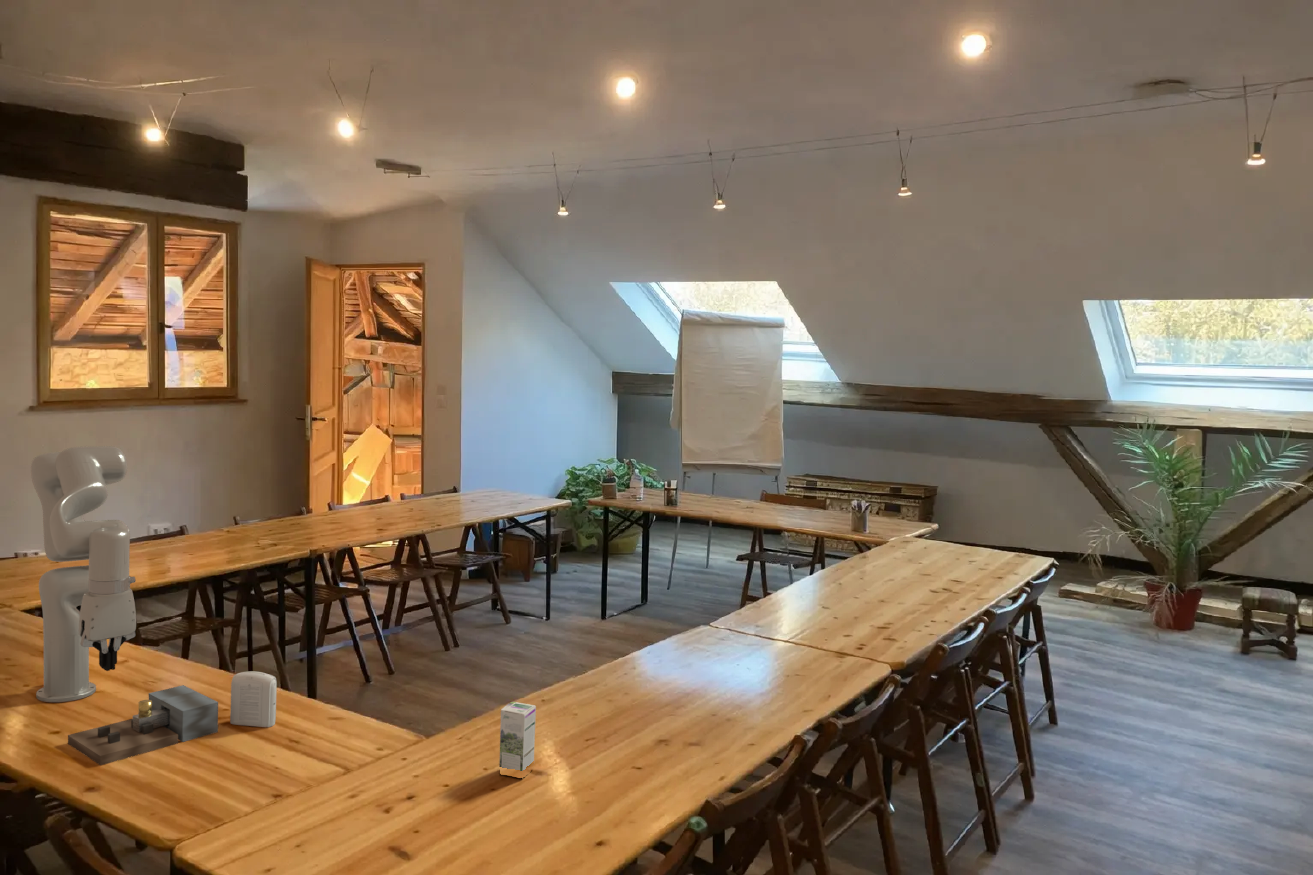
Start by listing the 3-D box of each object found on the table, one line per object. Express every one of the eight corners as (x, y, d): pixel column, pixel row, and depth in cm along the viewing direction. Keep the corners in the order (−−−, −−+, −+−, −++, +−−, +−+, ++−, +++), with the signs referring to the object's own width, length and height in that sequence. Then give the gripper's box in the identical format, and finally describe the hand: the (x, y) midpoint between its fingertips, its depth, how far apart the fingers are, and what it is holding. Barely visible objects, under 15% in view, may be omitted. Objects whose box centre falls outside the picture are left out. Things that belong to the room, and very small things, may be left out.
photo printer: (278, 721, 227) (279, 670, 226) (270, 728, 222) (271, 676, 221) (236, 718, 227) (237, 667, 226) (227, 725, 223) (227, 673, 222)
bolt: (139, 732, 211) (139, 705, 211) (132, 728, 213) (132, 702, 213) (193, 717, 221) (193, 692, 220) (186, 714, 223) (186, 689, 222)
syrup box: (534, 769, 207) (537, 704, 206) (522, 780, 201) (524, 713, 200) (510, 765, 209) (513, 699, 208) (497, 775, 203) (500, 708, 202)
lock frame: (100, 765, 199) (100, 732, 199) (67, 743, 209) (67, 712, 208) (217, 731, 219) (218, 701, 219) (183, 713, 229) (183, 684, 228)
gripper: (137, 576, 214) (135, 656, 216) (63, 587, 202) (62, 672, 204) (153, 583, 209) (151, 665, 211) (78, 595, 197) (77, 681, 199)
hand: (108, 668), depth 207 cm, fingers closed
